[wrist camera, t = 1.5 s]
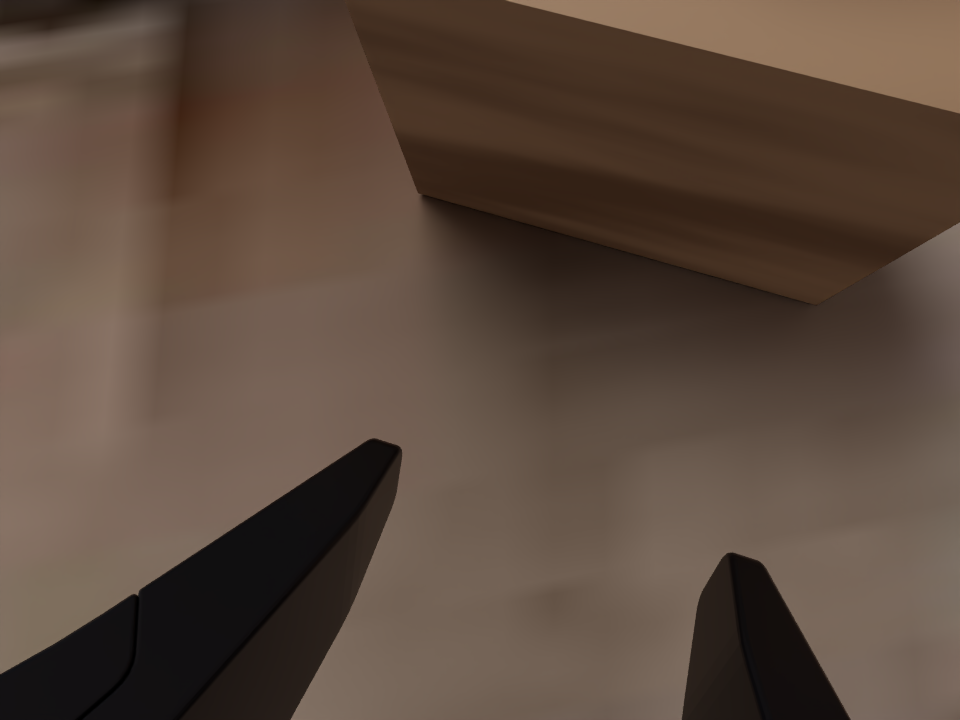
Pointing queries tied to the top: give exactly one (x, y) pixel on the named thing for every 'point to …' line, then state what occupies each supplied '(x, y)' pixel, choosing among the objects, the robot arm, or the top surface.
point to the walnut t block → (686, 125)
